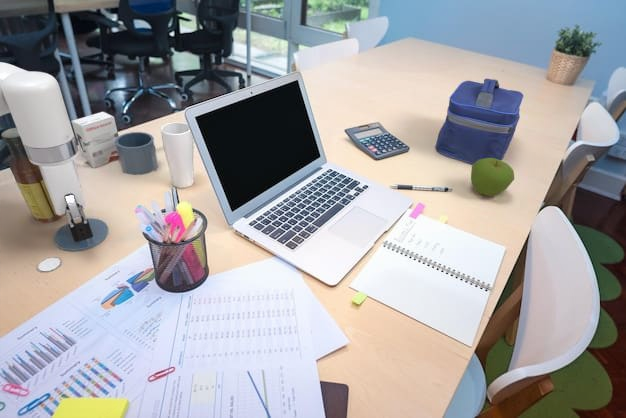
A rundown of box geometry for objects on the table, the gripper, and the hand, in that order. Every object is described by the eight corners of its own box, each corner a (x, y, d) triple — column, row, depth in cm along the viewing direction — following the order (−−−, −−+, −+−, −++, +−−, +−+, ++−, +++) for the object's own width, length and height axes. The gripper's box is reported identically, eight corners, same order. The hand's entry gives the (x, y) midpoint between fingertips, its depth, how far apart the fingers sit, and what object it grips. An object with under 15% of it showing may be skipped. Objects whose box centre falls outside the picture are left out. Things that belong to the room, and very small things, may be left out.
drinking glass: (163, 182, 97) (154, 126, 89) (187, 173, 102) (181, 119, 93) (178, 193, 94) (170, 137, 85) (202, 184, 98) (197, 129, 89)
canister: (127, 179, 97) (120, 151, 92) (117, 163, 102) (111, 135, 98) (162, 171, 101) (158, 143, 96) (152, 156, 107) (147, 129, 102)
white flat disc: (50, 257, 74) (49, 254, 74) (67, 262, 73) (67, 260, 73) (32, 271, 71) (31, 268, 70) (50, 277, 70) (49, 274, 70)
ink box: (113, 150, 107) (103, 110, 100) (124, 157, 105) (114, 116, 98) (82, 162, 101) (69, 119, 94) (93, 169, 99) (80, 126, 92)
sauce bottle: (62, 203, 87) (32, 120, 75) (72, 217, 84) (42, 132, 72) (28, 214, 83) (-9, 129, 71) (38, 229, 80) (0, 142, 68)
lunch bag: (449, 121, 146) (467, 65, 134) (508, 136, 139) (532, 79, 127) (430, 153, 123) (449, 90, 111) (499, 174, 116) (527, 109, 104)
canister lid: (60, 260, 74) (47, 230, 69) (52, 231, 80) (40, 202, 75) (114, 243, 79) (106, 214, 74) (103, 217, 85) (94, 189, 80)
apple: (464, 198, 104) (477, 166, 98) (463, 178, 112) (474, 148, 106) (506, 207, 102) (522, 175, 96) (502, 187, 110) (516, 156, 105)
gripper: (20, 131, 71) (50, 208, 81) (32, 177, 60) (65, 259, 70) (67, 124, 74) (90, 198, 85) (87, 166, 63) (110, 245, 74)
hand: (79, 225), depth 77 cm, fingers open, 8 cm apart
